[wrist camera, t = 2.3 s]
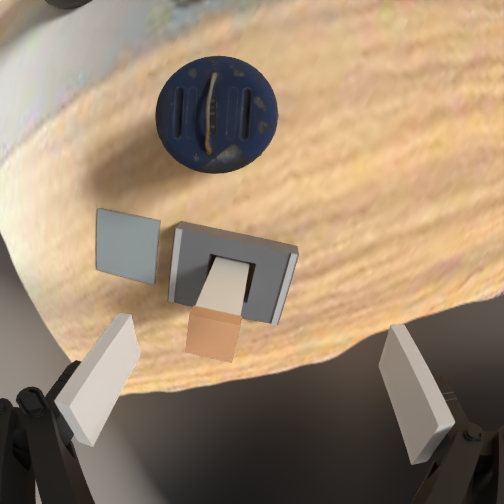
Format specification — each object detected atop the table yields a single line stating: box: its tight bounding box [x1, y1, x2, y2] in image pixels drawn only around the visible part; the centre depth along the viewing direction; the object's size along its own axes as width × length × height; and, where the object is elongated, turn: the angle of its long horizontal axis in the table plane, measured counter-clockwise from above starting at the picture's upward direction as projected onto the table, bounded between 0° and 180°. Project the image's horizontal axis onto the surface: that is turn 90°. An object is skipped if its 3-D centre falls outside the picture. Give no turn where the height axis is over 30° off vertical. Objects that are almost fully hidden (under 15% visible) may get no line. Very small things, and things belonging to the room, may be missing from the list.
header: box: [168, 221, 299, 326], centre depth 42 cm, size 16×11×3 cm
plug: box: [185, 255, 250, 363], centre depth 36 cm, size 5×5×16 cm
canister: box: [156, 56, 279, 174], centre depth 28 cm, size 10×10×18 cm
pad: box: [97, 208, 161, 285], centre depth 43 cm, size 10×10×1 cm
